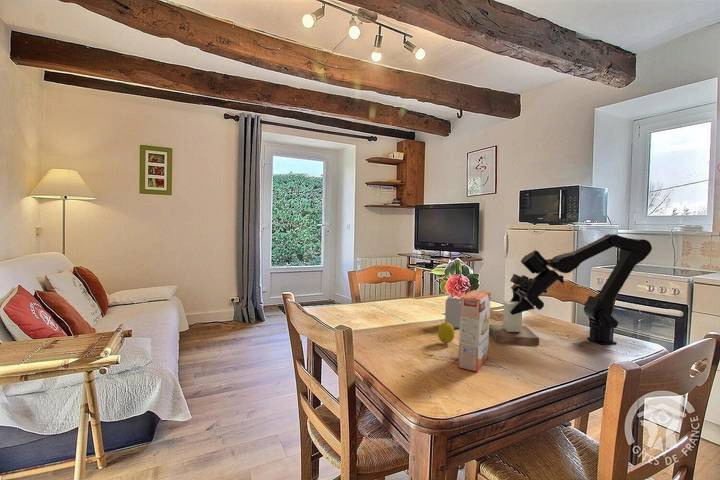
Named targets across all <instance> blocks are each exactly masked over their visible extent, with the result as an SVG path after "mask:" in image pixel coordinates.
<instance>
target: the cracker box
mask: <svg viewBox="0 0 720 480" xmlns="http://www.w3.org/2000/svg"><path fill="white" fill-rule="evenodd" d="M491 295H492V293H491V291H487V290H477V289H473V290H471V291H469V292H467V293H466V294H464V295H462V296H460V297H461V306H460V328H459V337H458V338H459V340H458V341H459V342H458V361H457V362H458V364H457V365H458V366H457V367H458V368H459V369H463V370H467V371H471V372H476V373H478V372H479V370H480V369H481V367H482V366H483V364H484V363H485V362H486V360H487V359H488V358H489V341H490V339H489V338H490V333H489V324H490V318H491V317H490V316H491V314H490V313H491V299H492V298H491V297H492V296H491Z"/></svg>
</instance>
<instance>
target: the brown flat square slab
mask: <svg viewBox="0 0 720 480" xmlns="http://www.w3.org/2000/svg"><path fill="white" fill-rule="evenodd" d="M489 335H491V337H492V339H493V340H494V341H495V343H497V344H512V345H529V346H532V345H533V346H540V337H539V336H538V335H536V334H535V333H534V332H533V331H532V330H531V329H530V328H529V327H528V326H526V325H522V332H507V331H506V330H505V329H504V328H503V324H491V323H489Z"/></svg>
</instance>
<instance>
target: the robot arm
mask: <svg viewBox="0 0 720 480" xmlns="http://www.w3.org/2000/svg"><path fill="white" fill-rule="evenodd" d="M613 247H614V248H616V249H620V250H619V259H618V261H617V263H616V265H615V266H614V268H613V270H612V271H611V272H610V275H609V276H608V278H607V279H606V281H605V283H604V284H603V286H602V288H601V289H600V291H599V292H598V293H597V295H594V296H592V295H589V296H588V297H587V300H586V301H585V303H583V312H584V314H585V315H586V317H588V321H590V327H589V336H587V337H586V339H587V340H590V341H592V342H594V343H597V344H599V345H614V344H615V345H617V344H618V343H617V341H615V340H614V329H616V328H617V327H618V326H619V321H617V319H616V318H614V317H613V316H612V314H613V311H614V302H615V299H616V297H617V295H618V294H619V293H620V291H621V289H622V288H623V286H624V284H625V283H626V281H627V280H628V278H629V277H630V274H631V273H632V271H633V269H634V268H635V267H636V265H638V264H639V263H641V262H643V261H644V260H645V259H646V258H647V257H648V255H650V253H651V252H652V249H653V246H652V244H651V242H650V241H649V240H647V239H645V238H644V239H643V238H629V237H624V236H621V235H619V234H613V233H611V234H610V233H609V234H606V235H604V236H602V237H601V238H599V239H596V240H594V241H593V242H590V243H588V244H586V245H584V246H582V247H580V248H578V249H577V250H573V251H571V252H566V253H561V254H558V255H555V256H554V257H552V258H550V259H548V258H547V259H545V258H544V256H542V255H541V252H539V251H538V250H536V249H535V250H533V251H531V252H529V253H528V254H526V255H524V256H523V258H521V260H520V263H521V265H523V266H524V267H525V268H526V269H527V270H528V271H529V272H530V273H531V274H536V276H534V277H530V278H529V276H526V275H521V276H520V275H518V274H515V273H513V274H512V277H511V278H510V281H509V282H511V283H513V285H512V286H511V287H510V289H511V290H512V291H511V292H512V298H511V299H510V301H518V303H517V305H516V306H515V307H514V308H513V309H512V311H511V312H510V313H511V314H512V315H514V314H517V313H520V312H522V313H523V312H526V311H530V310H535V308H536V309H537V310H538V311H541V310H543V308H545V302H544V301H542V299H540V296H542V295H543V294H547V293H548V290H549V288H550V287H552V286H553V285H554V284H555V283H556V282H557V283H560V284H564V282H565V281H564V276H565V275H562V274H569V273H571V272H572V271H574V270H575V269H577V268H578V267H579V266H580V265H581V264H582V263H583V262H585V261H587V260H589V259H590V258H594V257H595V256H597V255H599V254H601V253H603V252H605V251H607V250H609V249H611V248H613ZM550 268H551V269H550ZM558 272H559V273H562V274H559V273H558Z"/></svg>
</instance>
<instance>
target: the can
mask: <svg viewBox="0 0 720 480" xmlns="http://www.w3.org/2000/svg"><path fill="white" fill-rule="evenodd" d="M451 296H452V295H449V296H447V297H446V300H445V311H444V312H445V313H444V315H445V317H444V318H445V319H444V322H446V321H447V322H448V323H450V324H451V325H452V326H453V328H454V329H460V306H461V298H460V299H457V298H453V297H451Z"/></svg>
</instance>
